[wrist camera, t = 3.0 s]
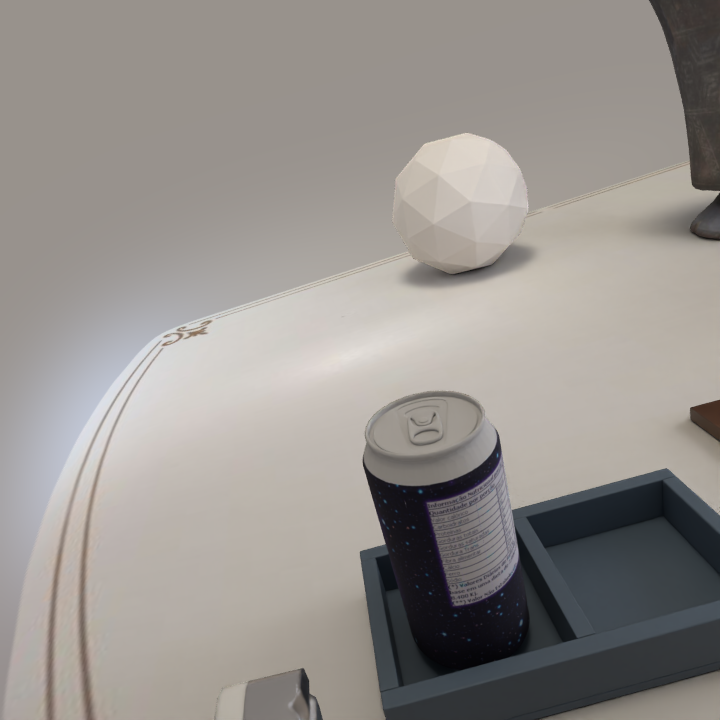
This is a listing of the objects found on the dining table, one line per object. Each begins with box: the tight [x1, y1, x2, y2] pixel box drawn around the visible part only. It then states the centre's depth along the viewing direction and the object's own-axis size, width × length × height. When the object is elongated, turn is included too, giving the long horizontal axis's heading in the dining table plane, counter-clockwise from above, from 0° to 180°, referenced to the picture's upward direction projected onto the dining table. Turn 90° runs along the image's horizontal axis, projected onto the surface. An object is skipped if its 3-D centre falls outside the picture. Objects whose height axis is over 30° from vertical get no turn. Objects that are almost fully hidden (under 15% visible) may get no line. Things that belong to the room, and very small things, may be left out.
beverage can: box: [363, 391, 530, 670], centre depth 25 cm, size 6×6×12 cm
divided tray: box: [360, 468, 720, 720], centre depth 27 cm, size 9×17×3 cm, turn 96°
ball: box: [392, 133, 528, 275], centre depth 81 cm, size 19×20×20 cm
